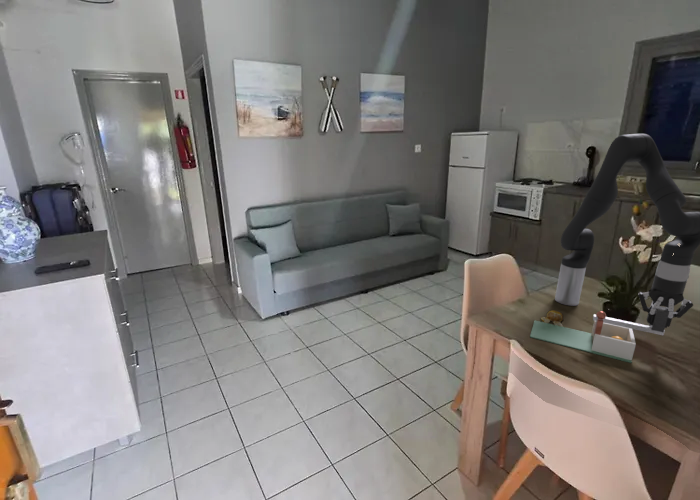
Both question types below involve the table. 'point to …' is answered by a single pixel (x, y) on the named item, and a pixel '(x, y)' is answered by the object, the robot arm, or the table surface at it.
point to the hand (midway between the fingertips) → (657, 325)
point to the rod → (655, 328)
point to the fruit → (553, 318)
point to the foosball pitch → (590, 339)
